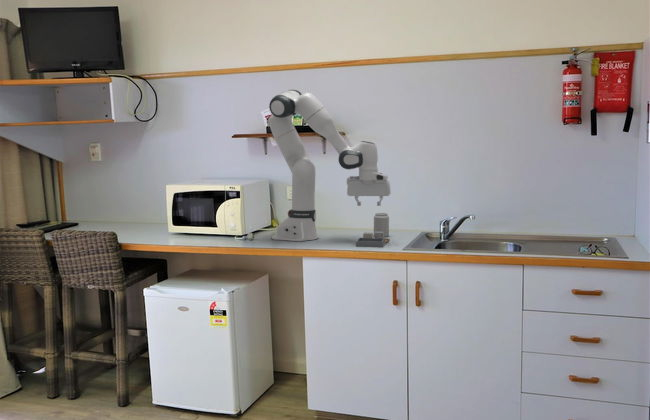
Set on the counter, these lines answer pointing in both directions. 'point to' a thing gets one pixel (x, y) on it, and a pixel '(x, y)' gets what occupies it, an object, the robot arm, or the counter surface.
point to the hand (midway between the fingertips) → (369, 205)
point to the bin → (370, 242)
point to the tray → (386, 240)
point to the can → (381, 223)
